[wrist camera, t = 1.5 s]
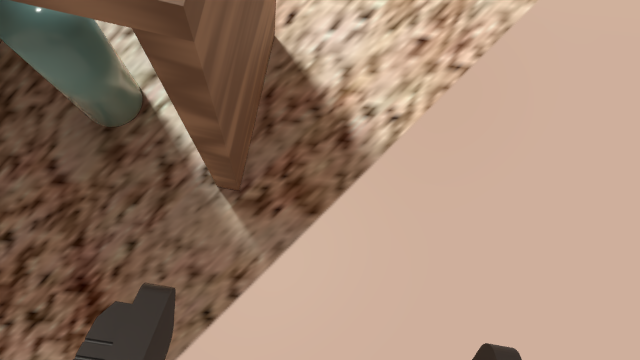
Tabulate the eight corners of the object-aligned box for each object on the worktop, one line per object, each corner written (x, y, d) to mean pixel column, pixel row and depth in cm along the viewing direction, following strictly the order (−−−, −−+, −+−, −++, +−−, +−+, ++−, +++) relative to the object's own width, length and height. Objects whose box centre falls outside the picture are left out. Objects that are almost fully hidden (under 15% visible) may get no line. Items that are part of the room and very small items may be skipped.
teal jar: (75, 120, 40) (-21, 42, 27) (92, 67, 41) (8, -33, 28) (134, 132, 41) (68, 61, 27) (149, 80, 42) (93, -13, 28)
